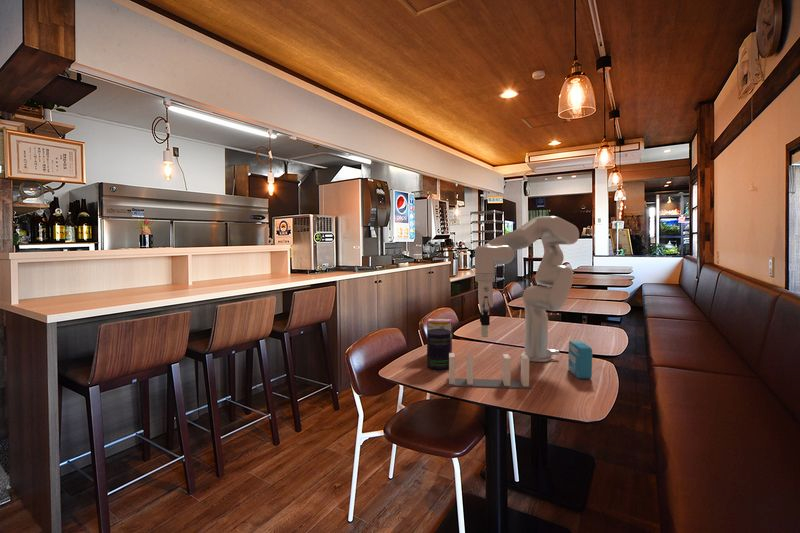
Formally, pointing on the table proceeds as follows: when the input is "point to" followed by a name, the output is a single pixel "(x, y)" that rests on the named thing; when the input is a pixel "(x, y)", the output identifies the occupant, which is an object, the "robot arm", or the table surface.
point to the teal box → (580, 359)
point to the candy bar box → (440, 327)
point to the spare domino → (484, 330)
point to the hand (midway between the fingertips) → (484, 323)
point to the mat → (488, 383)
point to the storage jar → (438, 349)
